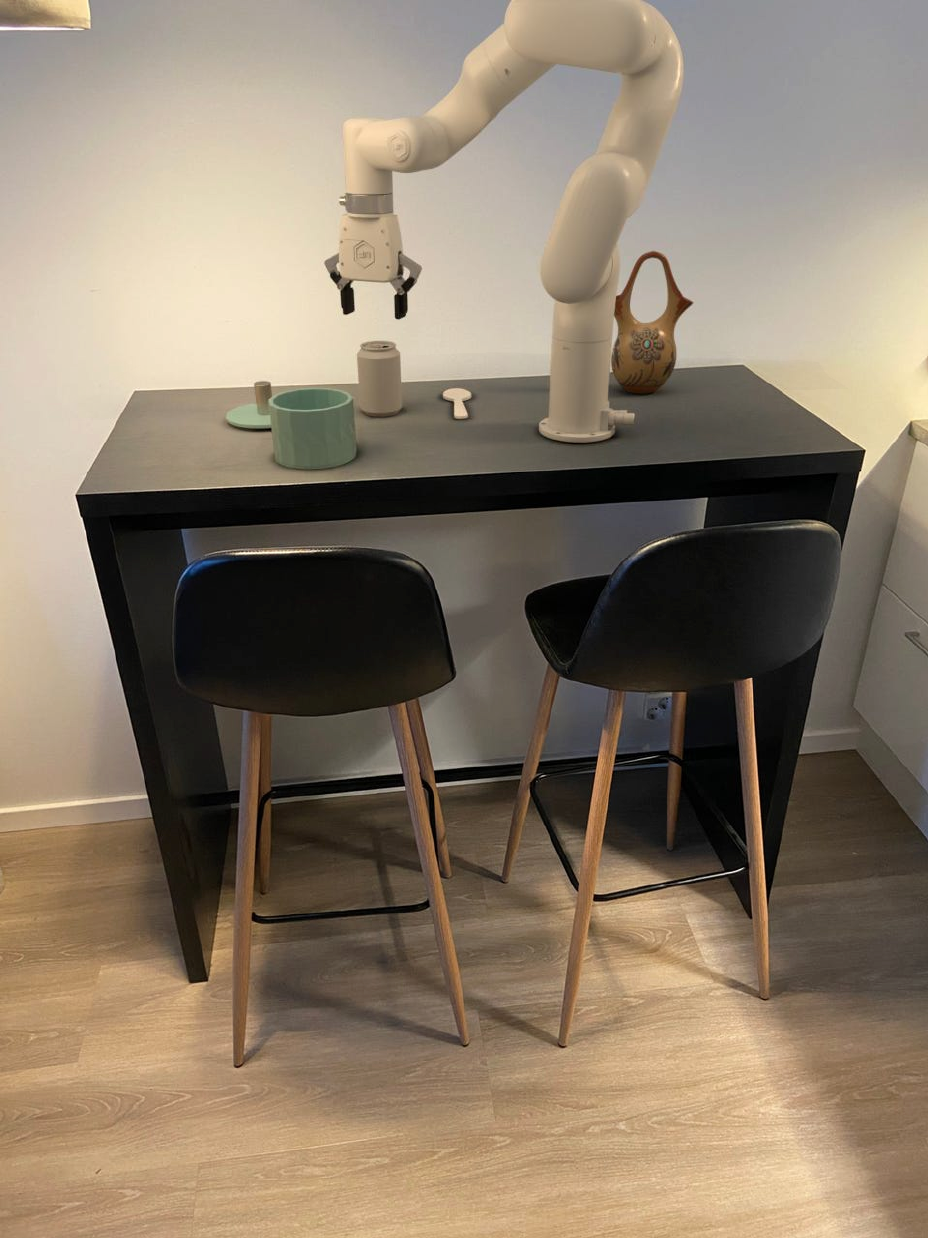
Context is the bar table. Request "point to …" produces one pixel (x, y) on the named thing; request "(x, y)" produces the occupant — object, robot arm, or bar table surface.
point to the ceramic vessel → (646, 336)
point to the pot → (313, 428)
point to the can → (379, 378)
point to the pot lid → (253, 409)
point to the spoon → (458, 401)
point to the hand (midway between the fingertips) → (374, 315)
